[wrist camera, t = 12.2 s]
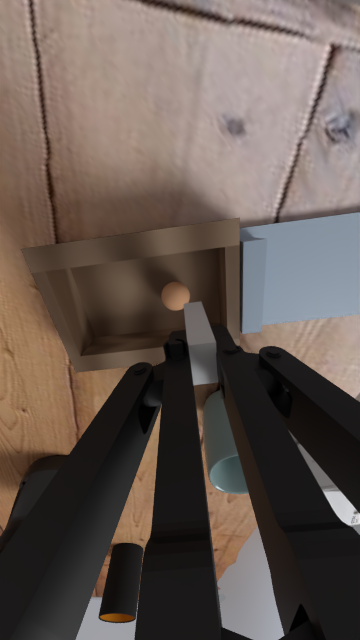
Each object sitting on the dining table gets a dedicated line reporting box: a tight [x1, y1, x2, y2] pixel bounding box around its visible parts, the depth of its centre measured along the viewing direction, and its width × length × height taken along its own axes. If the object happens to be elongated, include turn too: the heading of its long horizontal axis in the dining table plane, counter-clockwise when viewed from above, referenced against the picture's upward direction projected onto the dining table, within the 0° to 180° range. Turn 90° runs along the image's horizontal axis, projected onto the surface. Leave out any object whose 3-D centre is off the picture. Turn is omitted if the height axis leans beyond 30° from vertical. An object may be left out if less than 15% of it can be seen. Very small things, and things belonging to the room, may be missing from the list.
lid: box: [240, 212, 360, 334], centre depth 20 cm, size 18×11×4 cm, turn 97°
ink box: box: [289, 431, 360, 526], centre depth 25 cm, size 9×5×12 cm, turn 17°
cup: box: [202, 390, 249, 494], centre depth 25 cm, size 8×8×10 cm
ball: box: [161, 282, 190, 311], centre depth 20 cm, size 3×3×3 cm
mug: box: [99, 543, 143, 623], centre depth 49 cm, size 8×12×10 cm
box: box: [21, 218, 240, 372], centre depth 20 cm, size 18×13×4 cm
